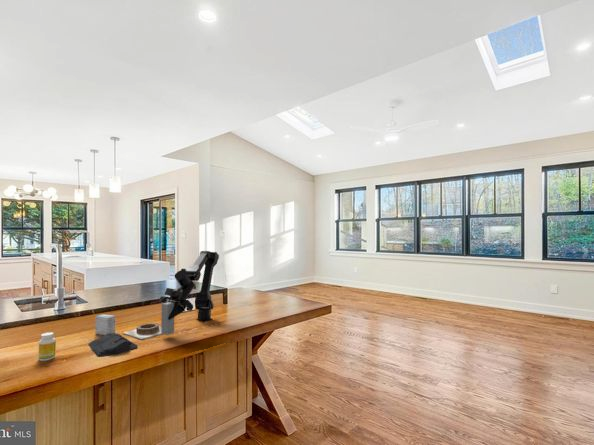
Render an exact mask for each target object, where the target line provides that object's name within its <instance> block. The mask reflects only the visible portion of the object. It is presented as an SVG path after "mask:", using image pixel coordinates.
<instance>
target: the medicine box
mask: <svg viewBox="0 0 594 445" xmlns="http://www.w3.org/2000/svg"><path fill="white" fill-rule="evenodd" d="M94 322H95V323H94V324H95V328H94V329H95V330H94V332H95V335H101V336H104V335H106V334H116V315H114V314H113V315H112V314H99V315H97V316H95V321H94Z"/></svg>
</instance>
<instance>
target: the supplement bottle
mask: <svg viewBox="0 0 594 445" xmlns="http://www.w3.org/2000/svg"><path fill="white" fill-rule="evenodd" d="M54 336H55V333H54V332H44V333H42V334H41V335H40V340H38V356H37V359H38V361H42V362H44V361H50V360H52V359H54V358H55V357H56V348H57V347H56V342H57V341H56V338H55V337H54Z"/></svg>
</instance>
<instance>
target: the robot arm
mask: <svg viewBox="0 0 594 445" xmlns="http://www.w3.org/2000/svg"><path fill="white" fill-rule="evenodd" d="M219 259H220V255H219V253H218V252H216V251H209V250H202V251H200V252H199V255H198V257H197V258H196V260H195V262H193V264H192V265H191V266H189V267H188V268H181V269H180V270H179V271H177V272H176V273H175V274H174V279H175V280H176V282H177V283H178V285H179V287H175V288H170V287H166V289H165V292H164V295H165V296H164V295H163V296H162V295H161V296H160V297H159V299H158V302H160V303H161V305H162V304H163V303H167V302H171V303H174V309H173V310H172V312H171V314H170V315H169V317H168V319H169V320H170V319H172V318H173V317H174V318H175V317H177V316H179V315H181V313H183V312H186V311H188V312H192V311H193V309H194V307H195V310H197V318H196V319H195V320H196V321H198V322H199V321H200V322H203V323H205V322H208V321H211V320H213V318H212V317H211V312H212V310H214V306H215V304H214V302H213V300H212V295H211V293H210V290H211V285H212V278H213V272H214V268H215V266H216V265H217V264H218V261H219ZM203 268H204V270H203V276H202V282H201V288H200V291H199V292H197V293H196V296H195V300H194V304H193V303H192V302H191V301H190V300H189V299H190V298H191V297H190V294H191V293H192V291H193V290H197V285H196V283H194V282H198V281H199V280H200V279H201V275H202V273H201V270H202V269H203ZM194 305H195V306H194Z"/></svg>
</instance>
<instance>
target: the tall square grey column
mask: <svg viewBox="0 0 594 445" xmlns="http://www.w3.org/2000/svg"><path fill="white" fill-rule="evenodd" d="M173 309H174V303H171V302H167V303H163V304H162V303H161V320H160V321H161V322H160V323H161V326H160V327H161V335H165V336H168V335H172V334H174V333H175V317H173V318H172V319H170V320H169V319H168V317H169V315H170V314H171V312H172V310H173Z"/></svg>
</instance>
